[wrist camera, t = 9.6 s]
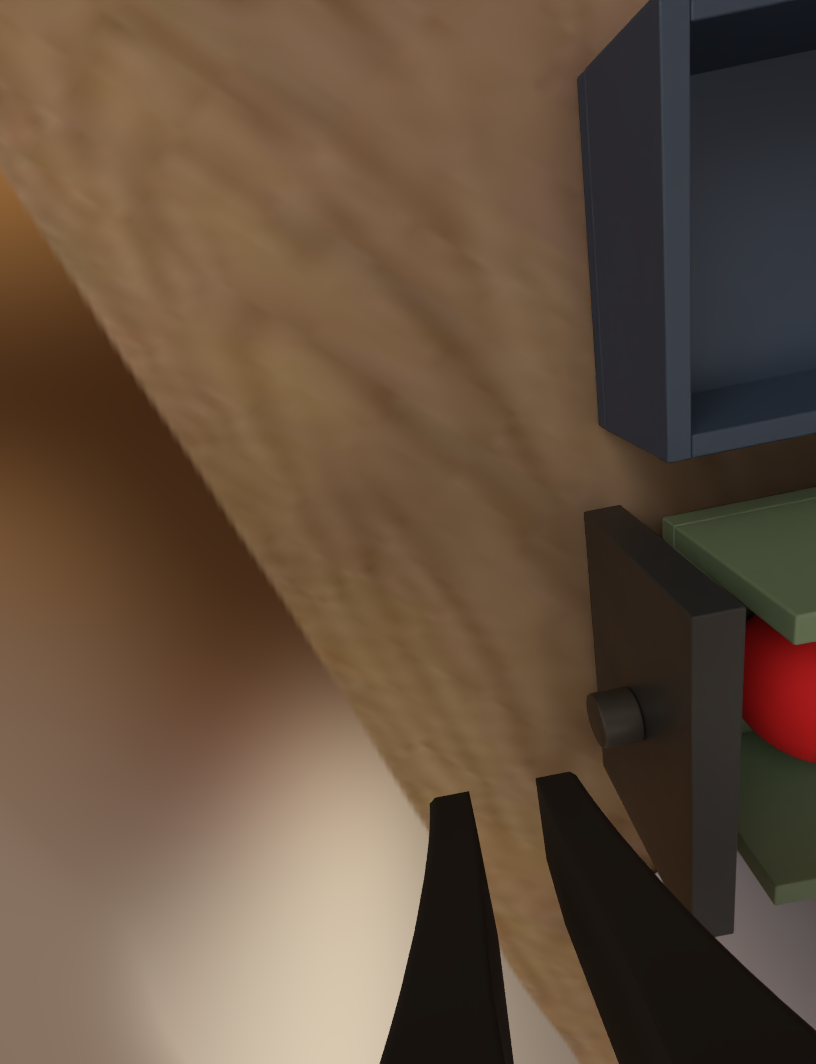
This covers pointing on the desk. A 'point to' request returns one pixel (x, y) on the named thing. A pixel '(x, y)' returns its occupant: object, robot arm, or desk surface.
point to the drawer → (703, 693)
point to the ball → (780, 690)
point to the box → (703, 224)
